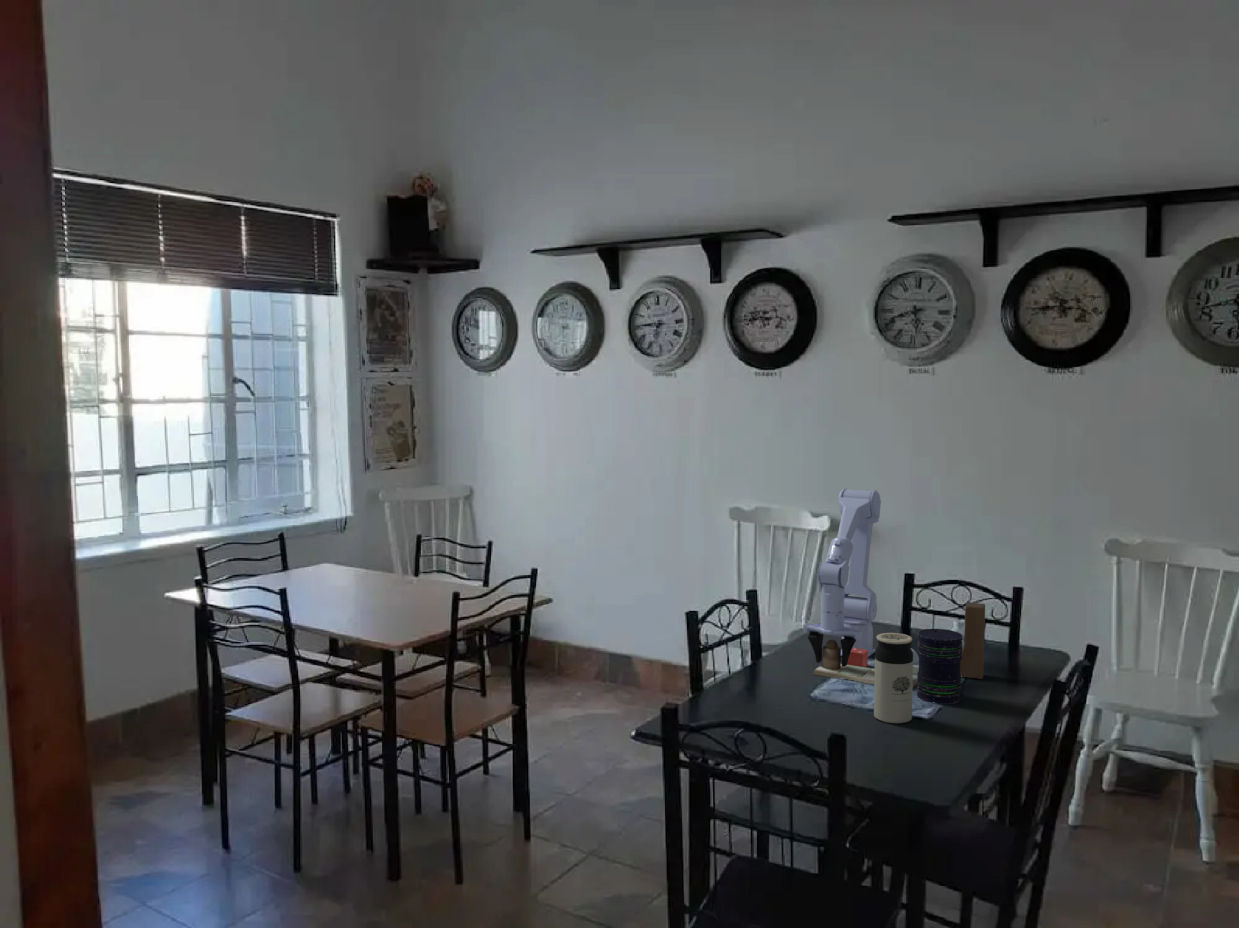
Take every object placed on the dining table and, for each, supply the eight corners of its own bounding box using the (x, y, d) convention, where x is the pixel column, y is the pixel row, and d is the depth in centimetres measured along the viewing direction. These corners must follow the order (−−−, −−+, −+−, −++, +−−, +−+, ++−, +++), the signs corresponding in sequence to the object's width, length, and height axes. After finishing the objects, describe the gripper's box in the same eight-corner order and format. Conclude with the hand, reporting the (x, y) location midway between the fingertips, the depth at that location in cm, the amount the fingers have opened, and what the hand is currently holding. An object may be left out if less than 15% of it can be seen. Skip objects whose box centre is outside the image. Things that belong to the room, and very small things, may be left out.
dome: (896, 662, 254) (897, 642, 254) (924, 667, 250) (925, 646, 250) (888, 670, 248) (889, 648, 248) (916, 674, 244) (917, 652, 244)
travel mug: (870, 711, 220) (871, 632, 219) (906, 711, 220) (908, 632, 218) (878, 724, 212) (879, 642, 211) (916, 724, 212) (917, 642, 210)
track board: (826, 665, 255) (826, 660, 255) (920, 680, 242) (920, 675, 242) (813, 674, 247) (813, 669, 247) (910, 690, 234) (910, 685, 234)
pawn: (826, 663, 252) (826, 636, 252) (843, 666, 250) (843, 638, 249) (820, 668, 249) (820, 640, 248) (837, 670, 246) (837, 643, 246)
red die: (852, 662, 257) (852, 647, 256) (867, 665, 255) (868, 649, 254) (847, 666, 253) (847, 651, 253) (862, 669, 251) (862, 653, 251)
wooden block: (944, 675, 245) (945, 604, 244) (945, 670, 250) (947, 600, 248) (982, 679, 242) (984, 607, 240) (983, 674, 246) (985, 603, 245)
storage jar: (968, 703, 225) (970, 639, 224) (926, 705, 224) (927, 640, 223) (950, 689, 235) (952, 628, 233) (910, 691, 234) (911, 629, 233)
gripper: (799, 610, 248) (798, 663, 250) (855, 617, 241) (854, 672, 242) (809, 604, 254) (808, 656, 256) (864, 611, 247) (863, 664, 248)
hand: (831, 663), depth 249 cm, fingers open, 6 cm apart
